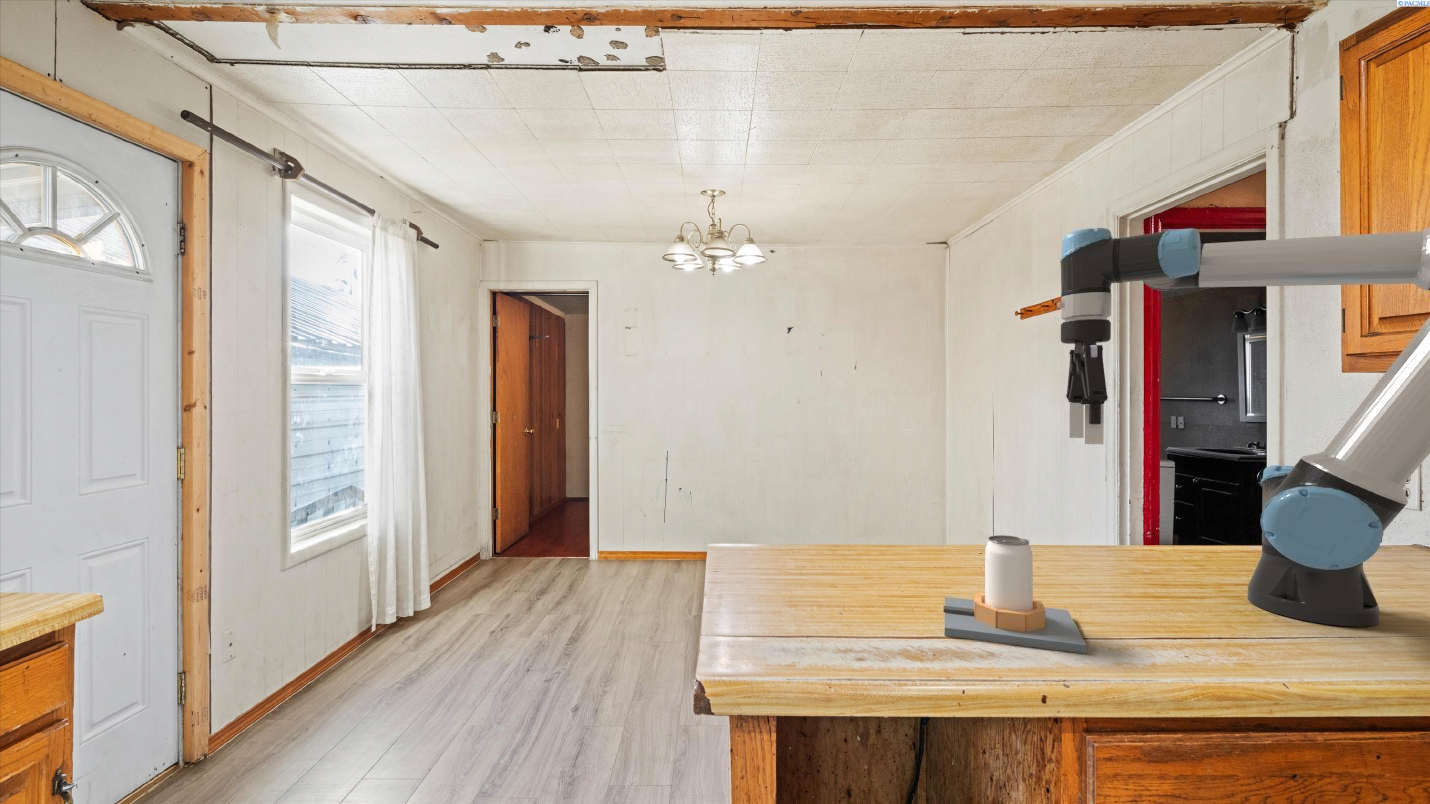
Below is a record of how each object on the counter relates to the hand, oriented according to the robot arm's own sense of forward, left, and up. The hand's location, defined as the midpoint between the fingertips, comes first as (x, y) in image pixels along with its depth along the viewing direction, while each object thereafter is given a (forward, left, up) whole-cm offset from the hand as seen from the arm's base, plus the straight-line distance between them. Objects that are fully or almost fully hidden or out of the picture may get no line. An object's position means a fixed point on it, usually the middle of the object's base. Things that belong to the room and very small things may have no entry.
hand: (1084, 440), depth 107 cm
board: (+14, +22, -27) cm, 37 cm away
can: (+14, +22, -26) cm, 37 cm away
